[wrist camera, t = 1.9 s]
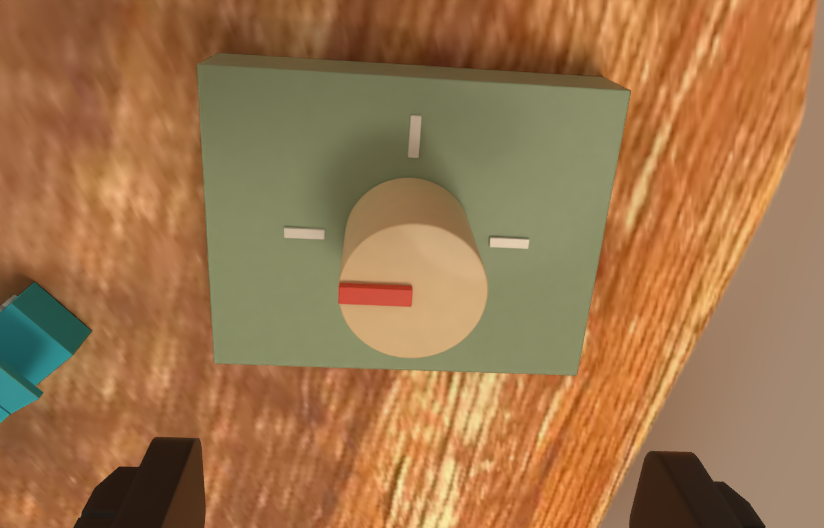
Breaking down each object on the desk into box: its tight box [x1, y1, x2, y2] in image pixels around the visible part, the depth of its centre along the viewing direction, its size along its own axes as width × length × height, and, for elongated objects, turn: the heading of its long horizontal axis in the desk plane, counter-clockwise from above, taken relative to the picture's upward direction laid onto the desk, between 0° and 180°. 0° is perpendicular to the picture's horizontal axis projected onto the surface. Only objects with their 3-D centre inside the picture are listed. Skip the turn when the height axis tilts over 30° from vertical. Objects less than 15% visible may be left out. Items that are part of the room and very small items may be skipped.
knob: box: [338, 178, 488, 358], centre depth 22 cm, size 4×4×5 cm
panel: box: [197, 53, 631, 376], centre depth 25 cm, size 14×11×3 cm
